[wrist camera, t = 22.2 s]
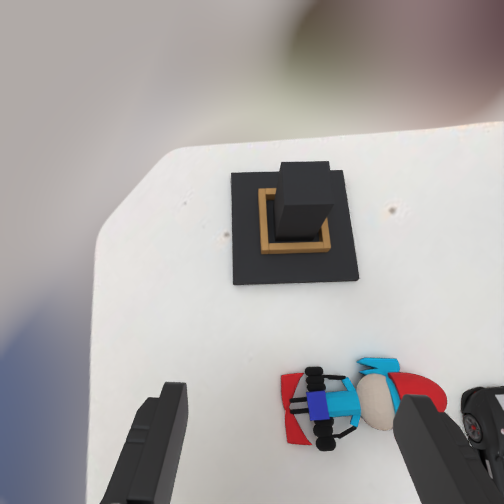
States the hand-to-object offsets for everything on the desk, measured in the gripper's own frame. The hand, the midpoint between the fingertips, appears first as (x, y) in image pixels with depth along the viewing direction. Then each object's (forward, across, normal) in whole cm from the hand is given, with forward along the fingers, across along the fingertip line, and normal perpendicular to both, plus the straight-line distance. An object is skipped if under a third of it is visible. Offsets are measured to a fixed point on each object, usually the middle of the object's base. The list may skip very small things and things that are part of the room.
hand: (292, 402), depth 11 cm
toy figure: (+13, -9, +16) cm, 23 cm away
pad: (+26, -3, +3) cm, 27 cm away
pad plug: (+26, -3, +3) cm, 26 cm away
